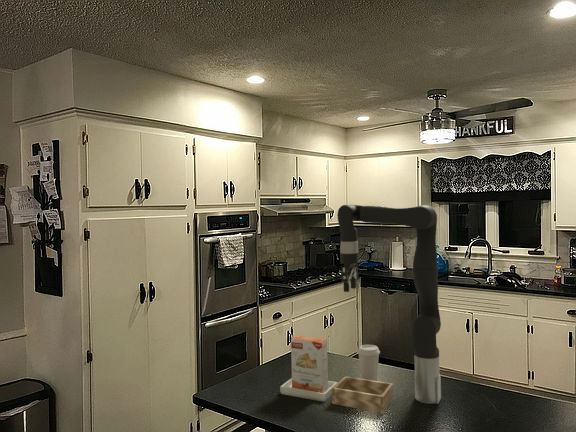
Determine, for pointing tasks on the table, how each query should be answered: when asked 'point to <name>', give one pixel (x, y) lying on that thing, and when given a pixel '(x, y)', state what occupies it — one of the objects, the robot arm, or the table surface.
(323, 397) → the white tray
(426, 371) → the robot arm
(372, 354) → the coffee cup
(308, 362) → the cracker box
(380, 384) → the oak holder
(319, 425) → the table surface
